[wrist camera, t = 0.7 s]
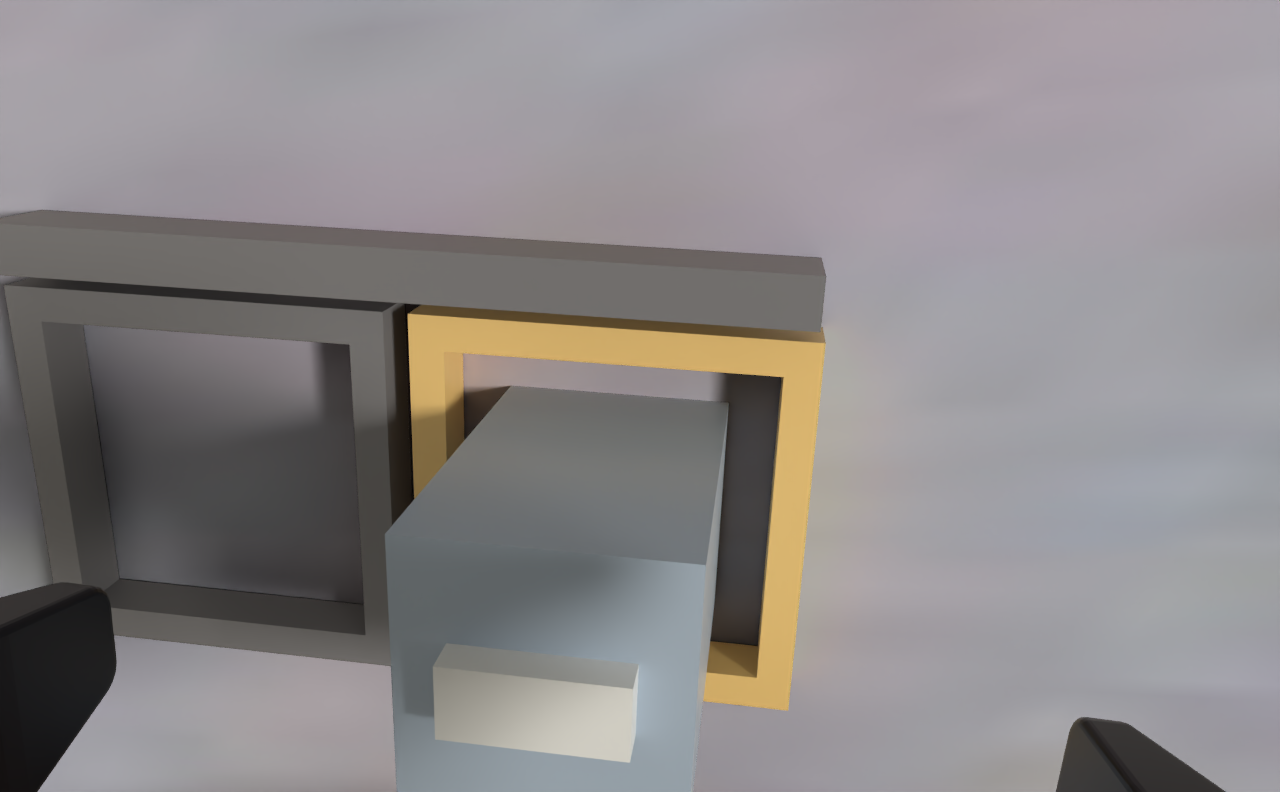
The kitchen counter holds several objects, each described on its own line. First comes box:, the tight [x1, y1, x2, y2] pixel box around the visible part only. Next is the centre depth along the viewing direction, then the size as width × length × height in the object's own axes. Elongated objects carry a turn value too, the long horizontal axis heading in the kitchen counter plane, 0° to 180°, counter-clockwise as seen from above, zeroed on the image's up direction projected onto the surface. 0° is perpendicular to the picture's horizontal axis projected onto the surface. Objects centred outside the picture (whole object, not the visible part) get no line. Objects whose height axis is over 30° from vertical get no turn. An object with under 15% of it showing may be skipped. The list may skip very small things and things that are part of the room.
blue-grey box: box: [385, 386, 729, 792], centre depth 17 cm, size 4×4×8 cm
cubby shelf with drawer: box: [0, 210, 826, 710], centre depth 20 cm, size 9×16×2 cm, turn 88°
